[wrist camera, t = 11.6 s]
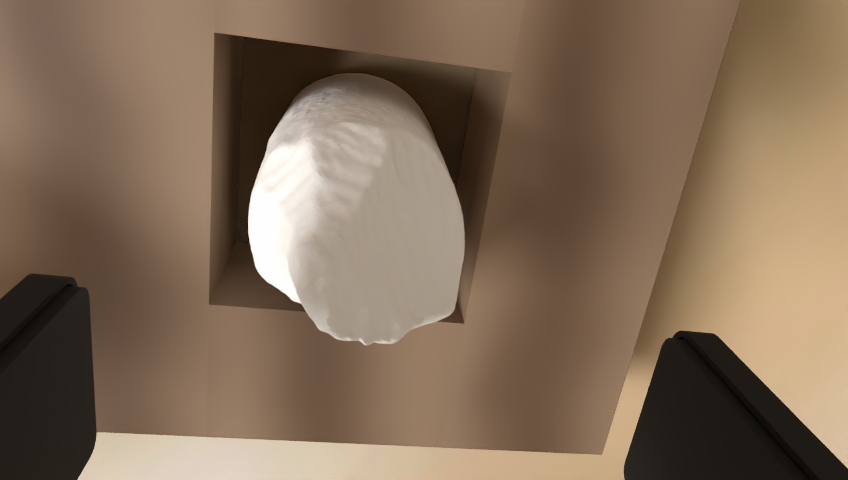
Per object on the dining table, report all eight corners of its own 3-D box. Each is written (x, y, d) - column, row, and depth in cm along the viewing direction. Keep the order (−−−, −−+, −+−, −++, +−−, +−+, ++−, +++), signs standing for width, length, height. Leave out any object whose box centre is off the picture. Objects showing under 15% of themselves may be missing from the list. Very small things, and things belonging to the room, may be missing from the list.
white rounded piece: (566, 314, 13) (368, 480, 14) (468, 155, 24) (362, 255, 25) (348, 99, 11) (136, 314, 12) (351, 34, 22) (241, 149, 23)
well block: (679, -77, 21) (768, -91, 17) (561, 376, 28) (601, 454, 23) (37, -192, 18) (-68, -246, 14) (74, 344, 25) (11, 428, 21)
